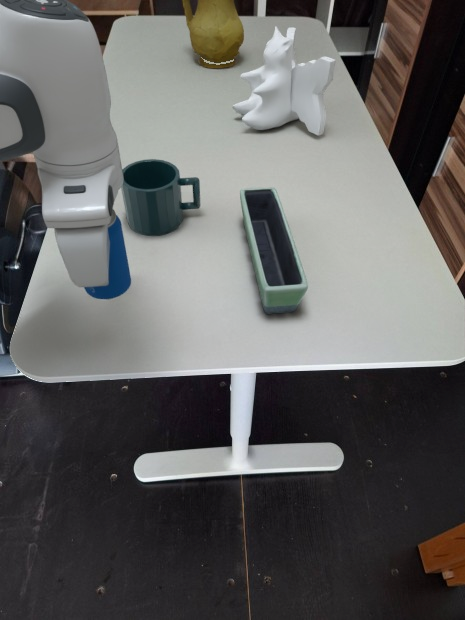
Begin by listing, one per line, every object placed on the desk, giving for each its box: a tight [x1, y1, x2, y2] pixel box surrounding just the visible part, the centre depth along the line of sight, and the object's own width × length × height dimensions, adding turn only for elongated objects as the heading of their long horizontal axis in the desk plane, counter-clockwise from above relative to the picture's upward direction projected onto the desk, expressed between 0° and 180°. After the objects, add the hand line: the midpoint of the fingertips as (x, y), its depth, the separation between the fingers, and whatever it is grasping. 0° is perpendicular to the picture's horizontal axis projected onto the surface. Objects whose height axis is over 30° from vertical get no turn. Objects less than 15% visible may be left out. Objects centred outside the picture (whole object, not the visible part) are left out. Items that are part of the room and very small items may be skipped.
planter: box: [239, 186, 309, 315], centre depth 79 cm, size 28×7×7 cm, turn 7°
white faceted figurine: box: [232, 25, 337, 136], centre depth 112 cm, size 25×21×21 cm
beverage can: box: [83, 208, 132, 300], centre depth 59 cm, size 6×6×12 cm
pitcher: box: [181, 0, 245, 69], centre depth 139 cm, size 17×19×25 cm
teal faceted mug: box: [120, 158, 201, 237], centre depth 87 cm, size 15×11×10 cm
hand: (103, 262), depth 60 cm, fingers closed on beverage can, 6 cm apart
